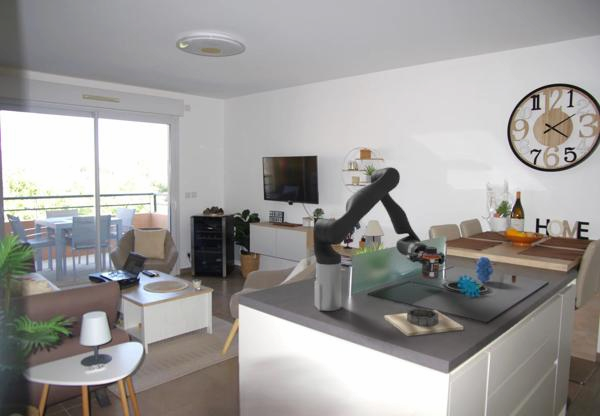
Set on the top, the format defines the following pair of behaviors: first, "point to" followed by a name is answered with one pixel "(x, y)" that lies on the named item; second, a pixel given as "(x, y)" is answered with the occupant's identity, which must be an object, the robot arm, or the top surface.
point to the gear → (469, 286)
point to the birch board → (411, 329)
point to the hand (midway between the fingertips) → (432, 261)
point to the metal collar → (414, 319)
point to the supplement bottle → (430, 263)
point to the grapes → (484, 269)
